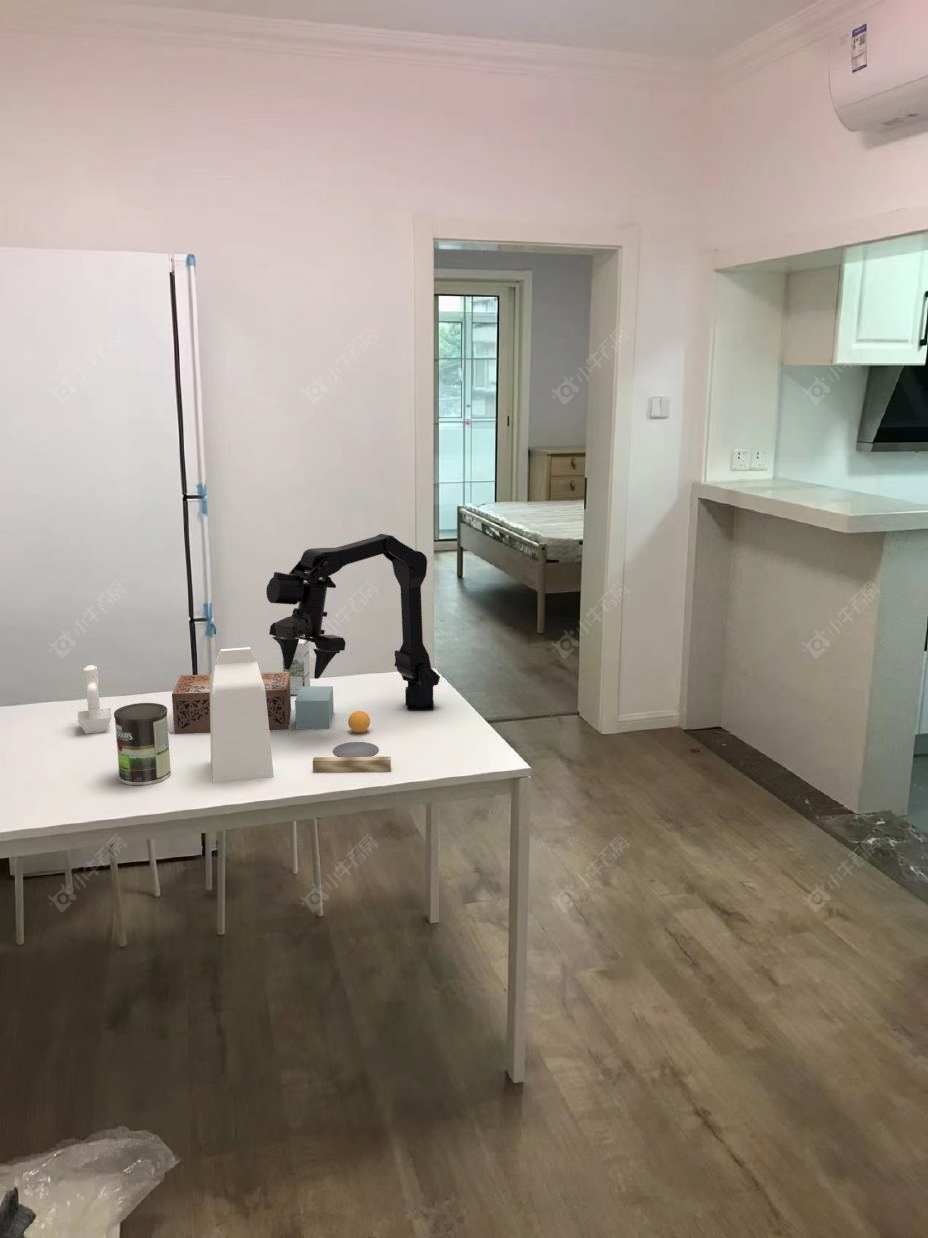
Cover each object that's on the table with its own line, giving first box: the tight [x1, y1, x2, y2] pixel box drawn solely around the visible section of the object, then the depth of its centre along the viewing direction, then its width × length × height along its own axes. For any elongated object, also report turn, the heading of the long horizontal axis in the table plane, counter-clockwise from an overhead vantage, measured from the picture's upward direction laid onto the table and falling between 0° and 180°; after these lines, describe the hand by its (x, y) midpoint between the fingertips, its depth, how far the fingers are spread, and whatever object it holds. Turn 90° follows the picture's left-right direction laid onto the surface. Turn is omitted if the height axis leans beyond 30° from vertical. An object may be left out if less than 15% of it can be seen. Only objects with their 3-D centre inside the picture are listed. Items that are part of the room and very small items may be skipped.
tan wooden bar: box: [312, 756, 392, 773], centre depth 207 cm, size 16×2×2 cm, turn 92°
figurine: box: [77, 664, 112, 735], centre depth 229 cm, size 7×9×15 cm
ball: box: [347, 710, 371, 734], centre depth 229 cm, size 5×5×5 cm
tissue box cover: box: [171, 671, 292, 735], centre depth 236 cm, size 26×14×10 cm, turn 97°
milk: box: [209, 646, 274, 784], centre depth 205 cm, size 12×12×26 cm
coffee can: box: [113, 702, 172, 786], centre depth 203 cm, size 10×10×14 cm
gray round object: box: [332, 741, 380, 757], centre depth 218 cm, size 10×10×1 cm
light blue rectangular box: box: [294, 685, 334, 730], centre depth 237 cm, size 8×11×7 cm
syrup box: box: [282, 638, 311, 696], centre depth 257 cm, size 6×6×14 cm
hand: (301, 673), depth 225 cm, fingers open, 9 cm apart
